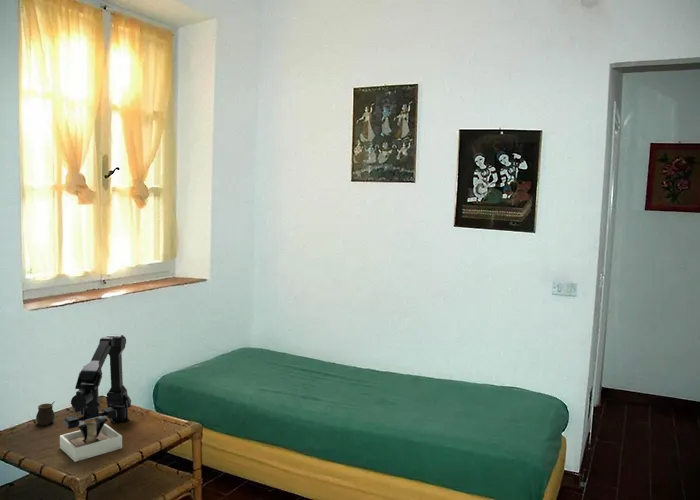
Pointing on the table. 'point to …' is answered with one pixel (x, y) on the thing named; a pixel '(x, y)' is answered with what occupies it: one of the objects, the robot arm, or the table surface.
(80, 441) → the bore plate
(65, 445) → the open box
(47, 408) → the mate gourd
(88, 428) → the peg
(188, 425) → the table surface
